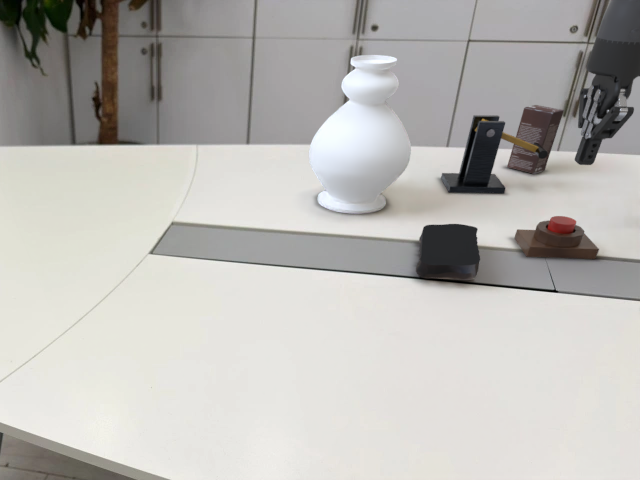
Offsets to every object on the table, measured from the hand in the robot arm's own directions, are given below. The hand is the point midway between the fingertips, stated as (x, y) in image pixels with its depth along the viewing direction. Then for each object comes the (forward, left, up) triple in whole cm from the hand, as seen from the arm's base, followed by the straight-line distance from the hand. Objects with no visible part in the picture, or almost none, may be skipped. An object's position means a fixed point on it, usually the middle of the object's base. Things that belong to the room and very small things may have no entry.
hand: (583, 163), depth 101 cm
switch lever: (+2, -29, -6) cm, 30 cm away
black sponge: (+18, +7, -14) cm, 24 cm away
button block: (0, 0, -14) cm, 14 cm away
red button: (0, 0, -11) cm, 11 cm away
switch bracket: (+6, -29, -14) cm, 33 cm away
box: (-7, -40, -14) cm, 43 cm away
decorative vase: (+30, -19, -14) cm, 38 cm away
